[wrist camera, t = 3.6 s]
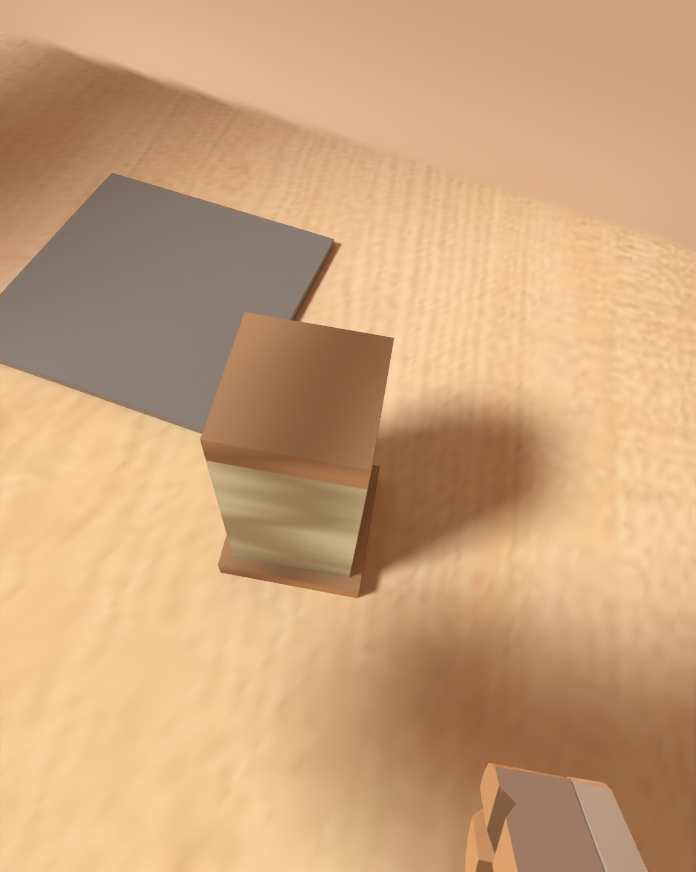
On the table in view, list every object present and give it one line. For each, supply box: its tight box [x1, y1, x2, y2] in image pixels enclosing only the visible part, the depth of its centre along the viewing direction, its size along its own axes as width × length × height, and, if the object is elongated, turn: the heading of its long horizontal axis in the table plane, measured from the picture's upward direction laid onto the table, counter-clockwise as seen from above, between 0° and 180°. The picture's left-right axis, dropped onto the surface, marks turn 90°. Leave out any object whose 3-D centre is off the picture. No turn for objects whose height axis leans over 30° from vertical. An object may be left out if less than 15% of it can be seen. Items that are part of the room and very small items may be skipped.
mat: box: [0, 173, 334, 433], centre depth 27 cm, size 12×12×1 cm
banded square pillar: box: [200, 312, 394, 598], centre depth 19 cm, size 5×5×8 cm
